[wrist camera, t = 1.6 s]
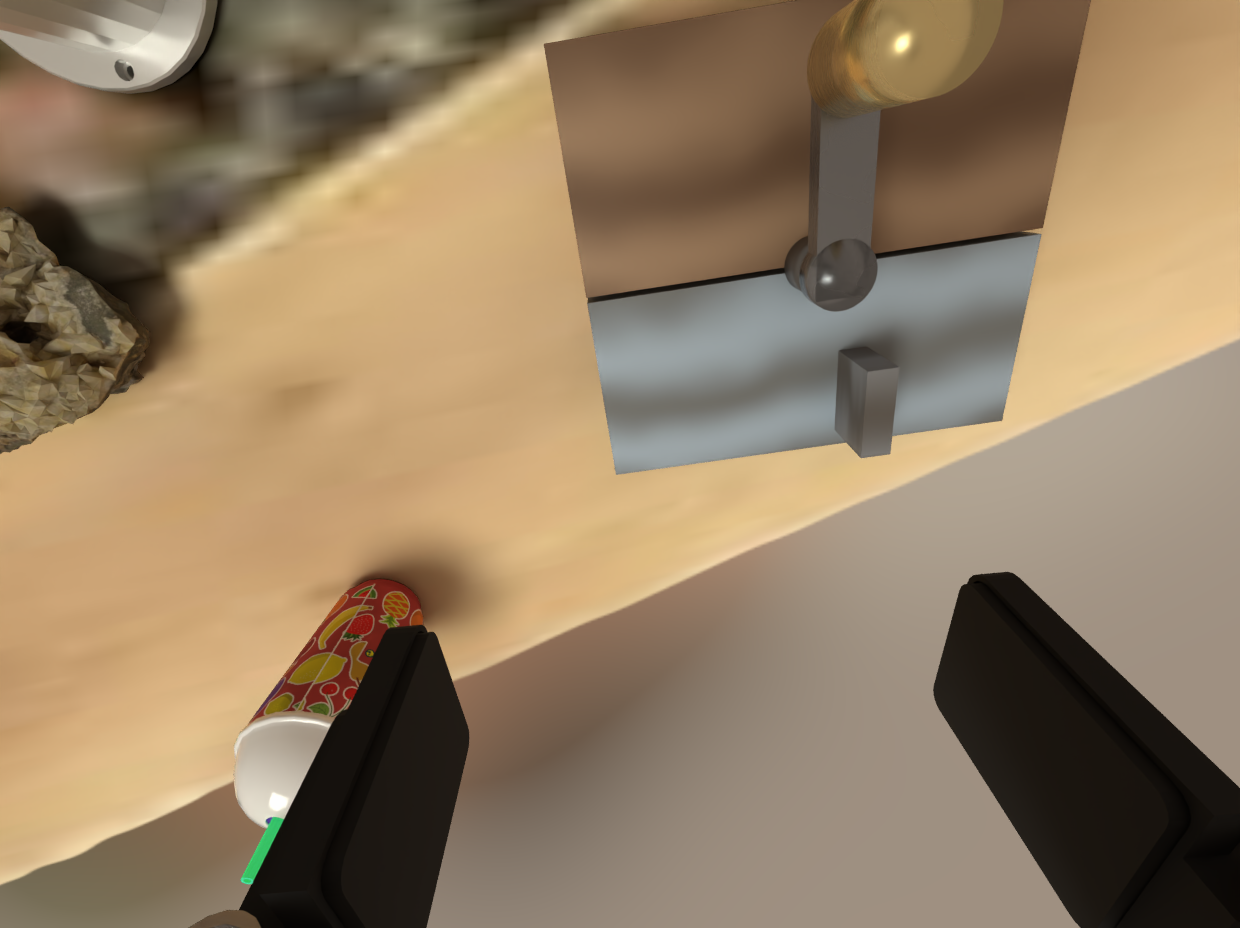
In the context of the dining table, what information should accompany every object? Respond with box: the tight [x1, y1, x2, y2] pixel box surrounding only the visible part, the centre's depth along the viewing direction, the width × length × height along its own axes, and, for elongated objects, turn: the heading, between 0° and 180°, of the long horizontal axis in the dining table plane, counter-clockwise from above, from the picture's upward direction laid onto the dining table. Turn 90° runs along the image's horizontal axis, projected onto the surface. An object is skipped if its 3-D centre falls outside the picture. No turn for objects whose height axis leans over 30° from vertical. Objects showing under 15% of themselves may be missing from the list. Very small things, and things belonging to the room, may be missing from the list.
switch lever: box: [799, 0, 1003, 312], centre depth 21 cm, size 11×4×7 cm, turn 8°
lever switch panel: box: [544, 0, 1091, 475], centre depth 29 cm, size 22×24×9 cm
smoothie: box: [233, 579, 423, 884], centre depth 36 cm, size 8×8×20 cm
